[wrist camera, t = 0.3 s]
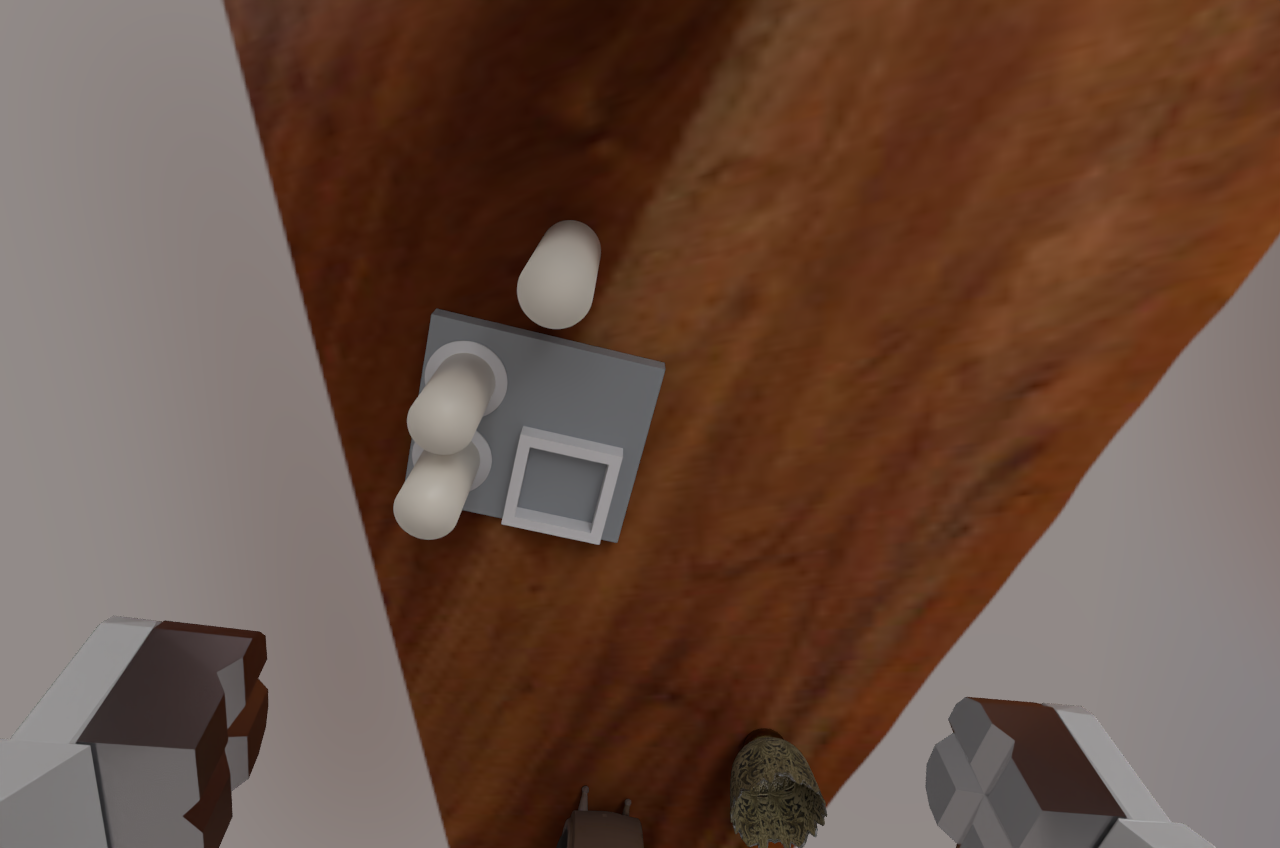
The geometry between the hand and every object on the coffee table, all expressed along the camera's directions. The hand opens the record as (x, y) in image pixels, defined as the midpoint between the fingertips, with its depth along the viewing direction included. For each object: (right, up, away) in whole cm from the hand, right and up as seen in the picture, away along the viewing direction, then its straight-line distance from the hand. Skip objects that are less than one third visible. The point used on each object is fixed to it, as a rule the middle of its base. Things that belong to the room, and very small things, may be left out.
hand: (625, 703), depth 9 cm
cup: (+11, -24, +60) cm, 66 cm away
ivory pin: (-4, +15, +44) cm, 46 cm away
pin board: (-8, +3, +49) cm, 49 cm away
